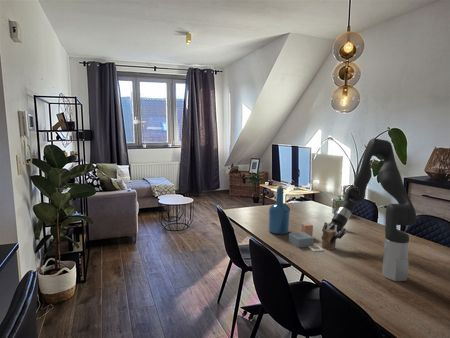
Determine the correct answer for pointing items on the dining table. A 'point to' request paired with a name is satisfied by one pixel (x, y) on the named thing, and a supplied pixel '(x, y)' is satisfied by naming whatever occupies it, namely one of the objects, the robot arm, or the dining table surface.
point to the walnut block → (328, 239)
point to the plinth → (301, 239)
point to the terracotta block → (307, 228)
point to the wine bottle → (279, 215)
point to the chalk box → (337, 204)
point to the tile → (315, 248)
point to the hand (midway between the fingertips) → (326, 241)
